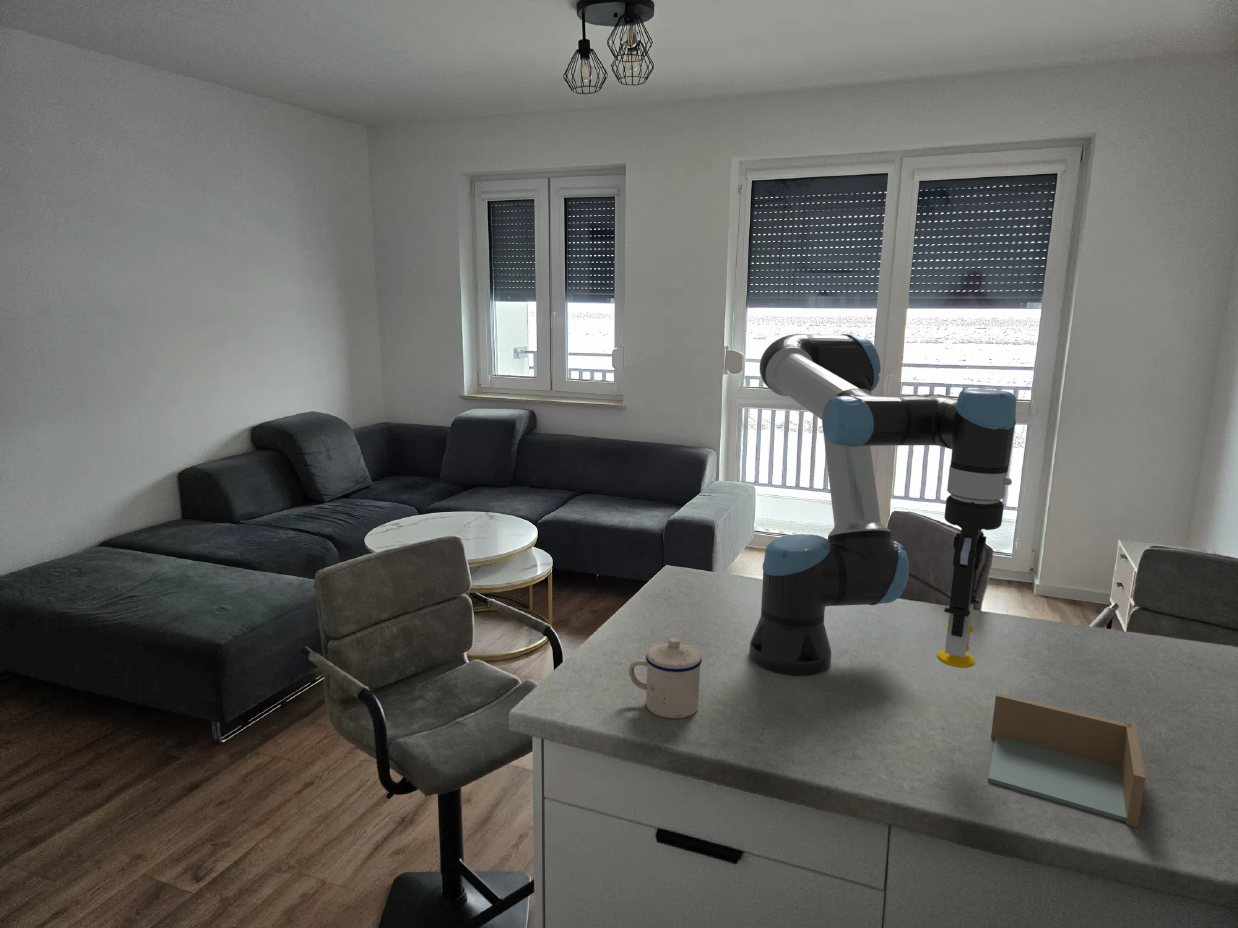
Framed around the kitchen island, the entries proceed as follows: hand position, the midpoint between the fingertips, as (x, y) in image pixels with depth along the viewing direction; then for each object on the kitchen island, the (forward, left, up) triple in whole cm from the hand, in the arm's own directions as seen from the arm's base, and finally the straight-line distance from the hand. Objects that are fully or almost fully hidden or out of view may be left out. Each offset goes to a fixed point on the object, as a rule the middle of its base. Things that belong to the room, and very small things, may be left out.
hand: (956, 648), depth 111 cm
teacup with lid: (-42, -14, -15) cm, 47 cm away
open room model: (+14, -2, -15) cm, 21 cm away
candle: (0, 0, -2) cm, 2 cm away
